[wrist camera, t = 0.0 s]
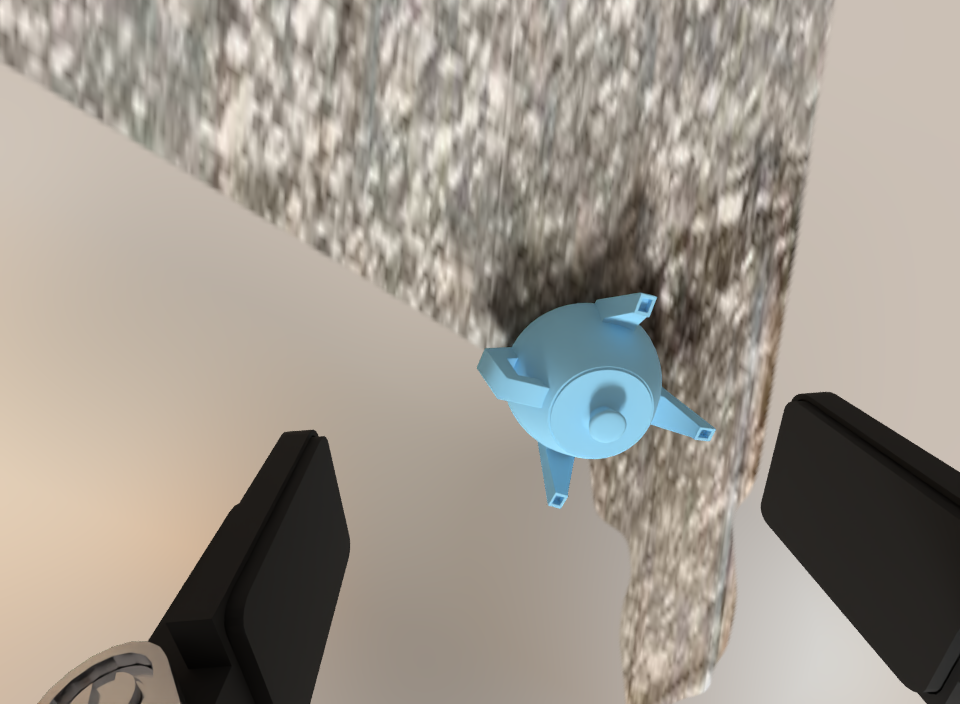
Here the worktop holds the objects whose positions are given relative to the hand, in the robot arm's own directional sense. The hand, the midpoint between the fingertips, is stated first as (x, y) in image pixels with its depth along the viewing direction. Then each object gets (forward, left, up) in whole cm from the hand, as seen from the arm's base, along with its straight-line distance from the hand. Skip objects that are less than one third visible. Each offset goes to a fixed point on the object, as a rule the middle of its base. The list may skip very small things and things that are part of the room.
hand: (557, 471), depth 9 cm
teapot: (+5, +15, -32) cm, 35 cm away
